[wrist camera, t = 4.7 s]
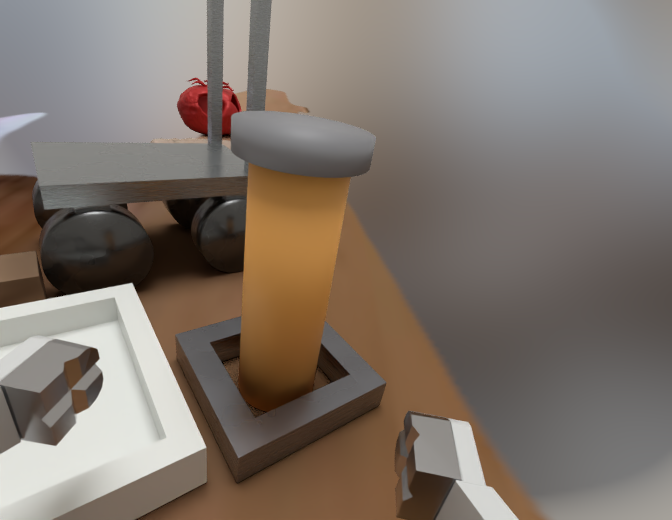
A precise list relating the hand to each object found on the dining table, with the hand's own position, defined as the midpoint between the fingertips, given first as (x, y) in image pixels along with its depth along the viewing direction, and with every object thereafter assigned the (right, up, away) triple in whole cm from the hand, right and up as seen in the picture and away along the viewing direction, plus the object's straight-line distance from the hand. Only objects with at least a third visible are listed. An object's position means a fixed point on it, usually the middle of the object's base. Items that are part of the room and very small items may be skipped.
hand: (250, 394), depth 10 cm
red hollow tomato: (-19, +25, +53) cm, 62 cm away
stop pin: (-1, -2, +9) cm, 9 cm away
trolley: (-10, +4, +17) cm, 20 cm away
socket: (-1, -2, +9) cm, 9 cm away
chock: (-15, +1, +10) cm, 18 cm away
